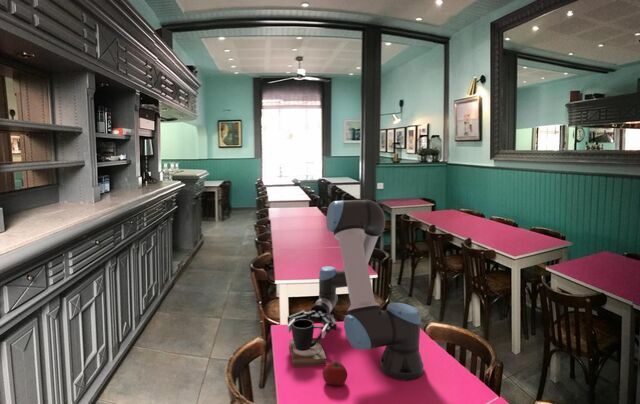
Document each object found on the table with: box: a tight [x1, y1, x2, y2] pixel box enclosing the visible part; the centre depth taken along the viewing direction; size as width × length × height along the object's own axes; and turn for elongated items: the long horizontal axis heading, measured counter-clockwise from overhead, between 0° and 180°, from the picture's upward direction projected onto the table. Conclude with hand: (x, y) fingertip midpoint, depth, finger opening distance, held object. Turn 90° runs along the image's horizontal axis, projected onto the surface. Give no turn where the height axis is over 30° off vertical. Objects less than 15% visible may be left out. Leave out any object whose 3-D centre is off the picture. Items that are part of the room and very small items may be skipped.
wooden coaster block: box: [289, 337, 327, 368], centre depth 149 cm, size 16×12×3 cm
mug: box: [291, 319, 324, 351], centre depth 148 cm, size 8×12×10 cm
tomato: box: [322, 360, 348, 387], centre depth 130 cm, size 8×8×7 cm
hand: (305, 332), depth 146 cm, fingers open, 13 cm apart
